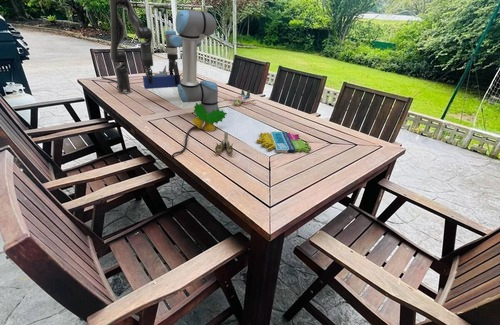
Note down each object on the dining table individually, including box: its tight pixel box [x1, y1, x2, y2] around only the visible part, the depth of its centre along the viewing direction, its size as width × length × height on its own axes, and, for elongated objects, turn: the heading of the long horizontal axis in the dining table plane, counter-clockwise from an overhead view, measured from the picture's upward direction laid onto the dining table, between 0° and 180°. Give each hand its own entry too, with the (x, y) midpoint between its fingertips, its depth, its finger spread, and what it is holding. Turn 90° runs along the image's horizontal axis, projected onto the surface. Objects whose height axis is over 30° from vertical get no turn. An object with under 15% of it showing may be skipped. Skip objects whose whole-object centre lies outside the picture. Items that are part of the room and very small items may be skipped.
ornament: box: [191, 102, 228, 132], centre depth 162 cm, size 21×8×15 cm, turn 105°
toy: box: [223, 89, 257, 106], centre depth 219 cm, size 28×7×30 cm
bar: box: [142, 74, 182, 90], centre depth 200 cm, size 27×5×8 cm, turn 121°
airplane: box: [150, 65, 170, 76], centre depth 274 cm, size 38×31×10 cm
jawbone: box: [214, 131, 234, 156], centre depth 136 cm, size 9×15×10 cm
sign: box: [256, 131, 312, 154], centre depth 152 cm, size 26×2×30 cm
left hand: (149, 82), depth 196 cm, fingers closed on bar, 5 cm apart
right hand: (174, 82), depth 205 cm, fingers open, 13 cm apart
